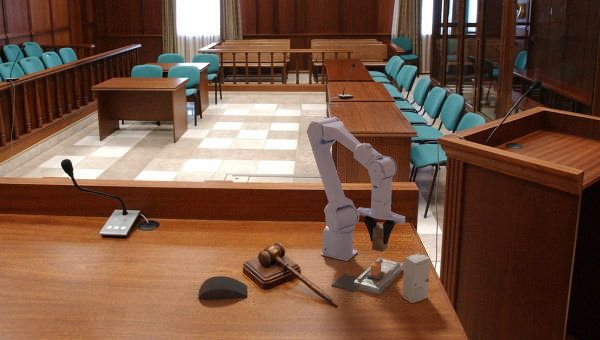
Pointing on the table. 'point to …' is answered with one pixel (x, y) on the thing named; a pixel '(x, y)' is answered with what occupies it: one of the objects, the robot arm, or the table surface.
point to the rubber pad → (346, 282)
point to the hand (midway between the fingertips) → (379, 241)
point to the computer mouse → (222, 288)
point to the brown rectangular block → (378, 238)
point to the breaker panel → (377, 285)
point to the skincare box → (416, 277)
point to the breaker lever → (376, 270)
